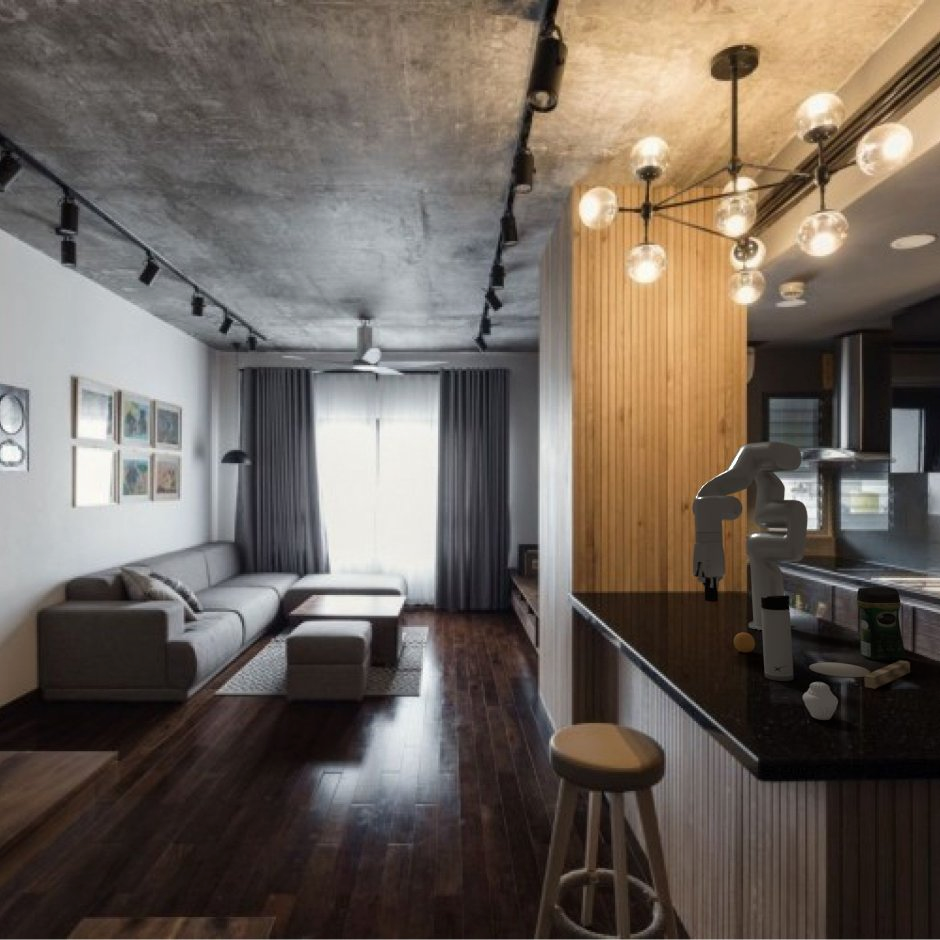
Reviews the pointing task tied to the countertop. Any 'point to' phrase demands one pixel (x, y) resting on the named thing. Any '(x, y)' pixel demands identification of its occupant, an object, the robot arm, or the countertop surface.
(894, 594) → the coffee jar
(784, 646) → the travel mug
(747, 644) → the ball
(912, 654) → the countertop surface
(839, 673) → the disc
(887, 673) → the stopper strip
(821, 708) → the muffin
